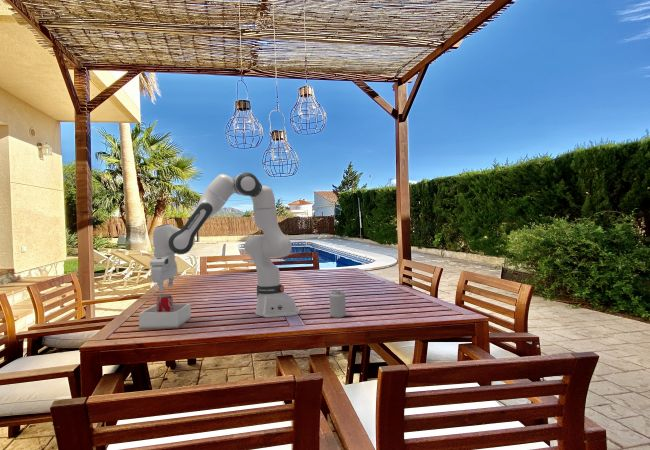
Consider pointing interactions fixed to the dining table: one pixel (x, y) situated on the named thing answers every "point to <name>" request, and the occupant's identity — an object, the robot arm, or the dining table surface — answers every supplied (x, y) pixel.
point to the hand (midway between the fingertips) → (166, 288)
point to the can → (337, 304)
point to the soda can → (165, 303)
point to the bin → (164, 317)
